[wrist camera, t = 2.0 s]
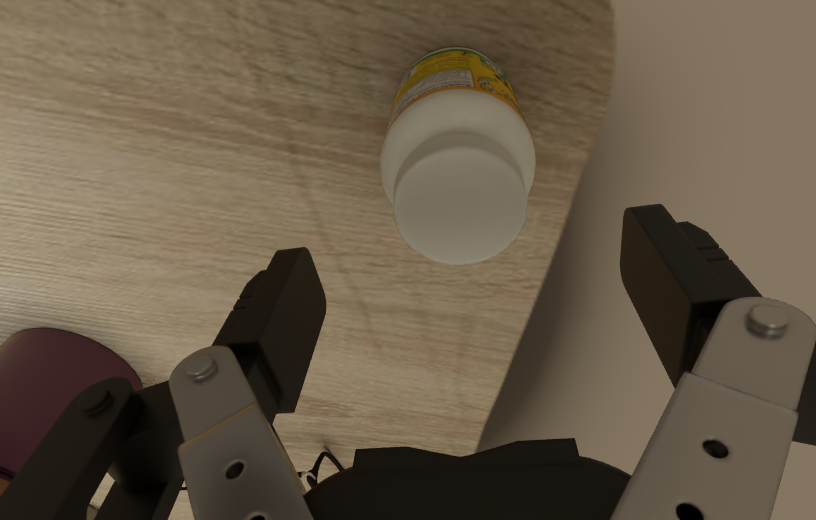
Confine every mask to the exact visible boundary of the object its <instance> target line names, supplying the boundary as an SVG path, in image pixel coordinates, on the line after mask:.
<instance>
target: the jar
mask: <svg viewBox="0 0 816 520" xmlns="http://www.w3.org/2000/svg"><path fill="white" fill-rule="evenodd" d="M112 377H124V378H127V379H128V380H129V381H130V382H131V384H132V385H133V386H134V388H135V389H136V390H137V391H138V390H141V389H143V387H142V384H141V382H140V380H139V378H138V376H137V375H136V373H135V372H134V371H133V370H132V368H131V367H130V366H129V365H128V364H127V363H126V362H125V361H124V360H123V359H121V358H120V357H119V356H118V355H116V354H115V353H113V352H112V351H110V350H109V349H107V348H106V347H104V346H102V345H100V344H99V343H96V342H94V341H92V340H90V339H88V338H85V337H83V336H80V335H77V334H74V333H71V332H67V331H62V330H57V329H48V328H33V329H27V330H23V331H20V332H17V333H15V334H13V335H11V336H10V337H9V338H8V339H7V340H6V341H4V342H3V343H2V344H1V345H0V496H1V494H2V493H3V492H4V490H5V489H6V488H7V486H8V485H9V483H10V482H11V481H12V479H13V478H14V477H15V475H16V474H17V473H18V471H19V470H20V469H21V467H22V466H23V465H24V463H25V462H26V460H27V459H28V458H29V456H30V455H31V454H32V452H33V451H34V450H35V448H36V447H37V446H38V444H39V443H40V442H41V440H42V439H43V438H44V436H45V435H46V433H47V432H48V431H49V429H50V428H51V427H52V425H53V424H54V423H55V421H56V420H57V419H58V417H59V416H60V415H61V413H62V412H63V411H64V409H65V408H66V406H67V405H68V404H69V403H70V402H71V401H72V400H73V399H74V398H75V397H76V396H77V395H78V394H79V393H80V392H82V391H83V390H85V389H86V388H88V387H89V386H91V385H93V384H95V383H97V382H99V381H101V380H104V379H107V378H112Z"/></svg>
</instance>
